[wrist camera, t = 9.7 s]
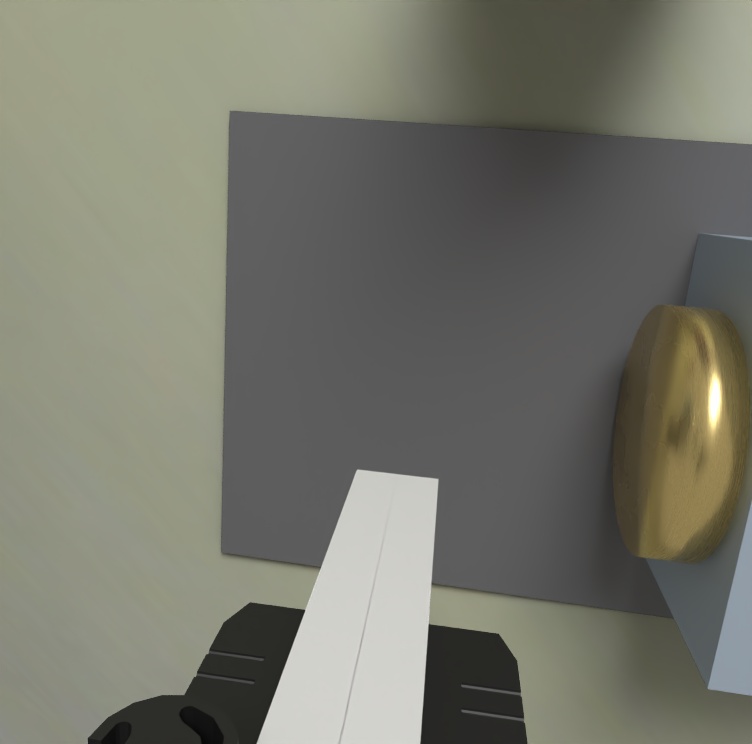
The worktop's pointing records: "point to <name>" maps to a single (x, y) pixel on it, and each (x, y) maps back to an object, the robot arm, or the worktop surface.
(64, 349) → the worktop surface
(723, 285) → the block
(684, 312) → the pin
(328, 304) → the mat
